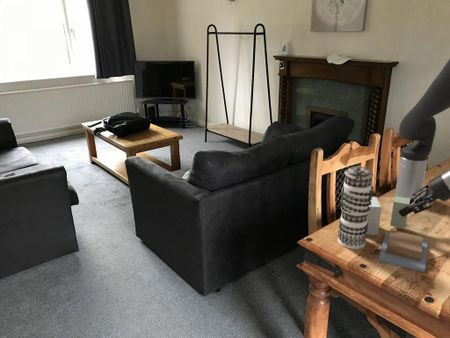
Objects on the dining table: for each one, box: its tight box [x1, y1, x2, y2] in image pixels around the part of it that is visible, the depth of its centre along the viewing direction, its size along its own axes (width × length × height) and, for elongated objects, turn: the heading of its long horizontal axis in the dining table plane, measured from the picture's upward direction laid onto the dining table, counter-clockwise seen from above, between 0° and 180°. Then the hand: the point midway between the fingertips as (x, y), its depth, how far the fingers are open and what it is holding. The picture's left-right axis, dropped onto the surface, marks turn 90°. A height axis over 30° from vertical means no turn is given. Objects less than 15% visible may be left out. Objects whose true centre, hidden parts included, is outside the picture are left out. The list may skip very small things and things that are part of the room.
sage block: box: [389, 195, 410, 230], centre depth 120 cm, size 4×4×9 cm
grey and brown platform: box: [378, 229, 428, 273], centre depth 109 cm, size 16×12×4 cm
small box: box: [366, 196, 382, 236], centre depth 121 cm, size 8×6×10 cm
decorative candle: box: [337, 165, 374, 250], centre depth 112 cm, size 9×9×25 cm
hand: (401, 210), depth 119 cm, fingers closed on sage block, 4 cm apart
